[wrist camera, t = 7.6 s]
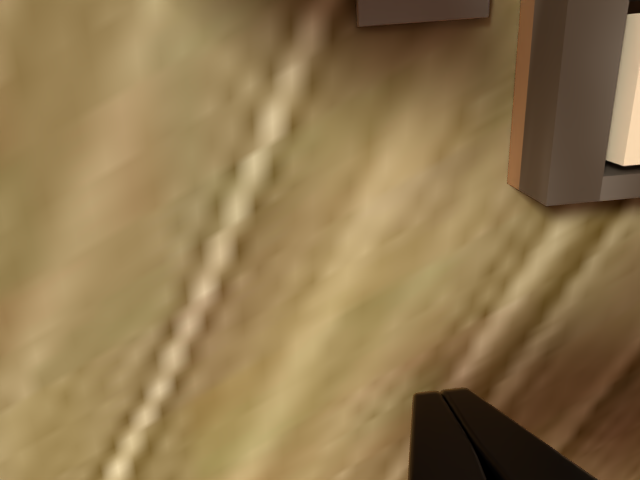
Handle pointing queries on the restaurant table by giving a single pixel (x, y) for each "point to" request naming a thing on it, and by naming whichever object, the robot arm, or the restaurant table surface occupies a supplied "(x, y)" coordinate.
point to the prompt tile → (417, 11)
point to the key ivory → (627, 100)
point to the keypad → (568, 102)
